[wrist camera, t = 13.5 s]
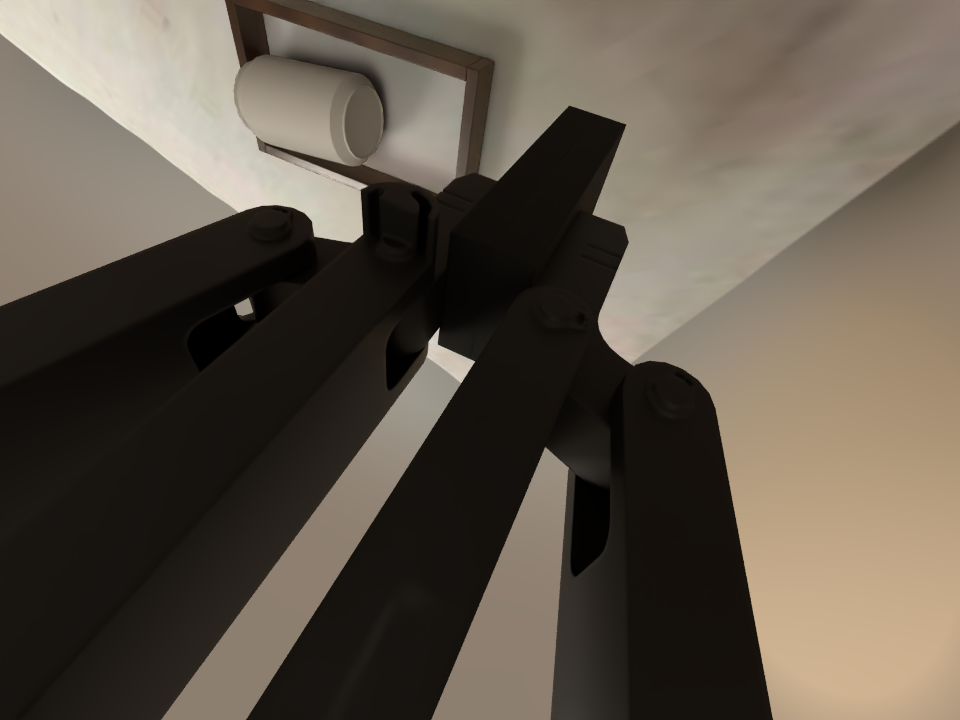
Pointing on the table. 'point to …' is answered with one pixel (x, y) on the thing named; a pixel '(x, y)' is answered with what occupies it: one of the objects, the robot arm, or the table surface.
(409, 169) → the table surface
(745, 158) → the table surface
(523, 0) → the table surface
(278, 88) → the can
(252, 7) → the walnut frame
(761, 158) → the table surface
